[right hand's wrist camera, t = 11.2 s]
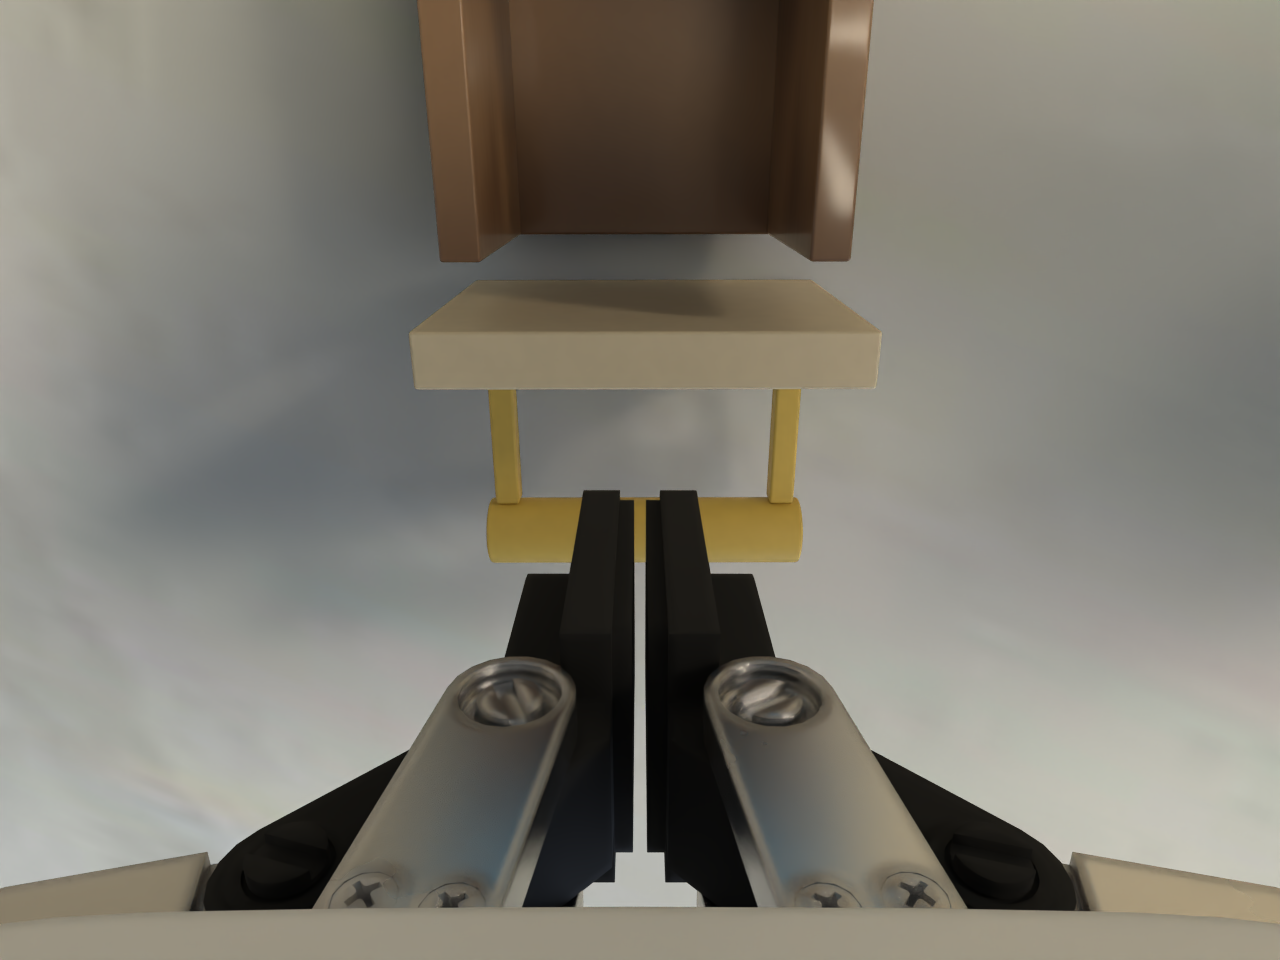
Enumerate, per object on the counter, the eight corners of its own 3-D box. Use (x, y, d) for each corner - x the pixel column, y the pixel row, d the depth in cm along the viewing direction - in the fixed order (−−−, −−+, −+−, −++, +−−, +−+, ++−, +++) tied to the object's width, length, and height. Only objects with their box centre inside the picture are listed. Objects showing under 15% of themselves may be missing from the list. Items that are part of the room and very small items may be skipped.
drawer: (796, 498, 25) (851, 621, 19) (491, 498, 25) (438, 622, 19) (871, -513, 17) (1020, -945, 10) (416, -513, 17) (271, -943, 10)
